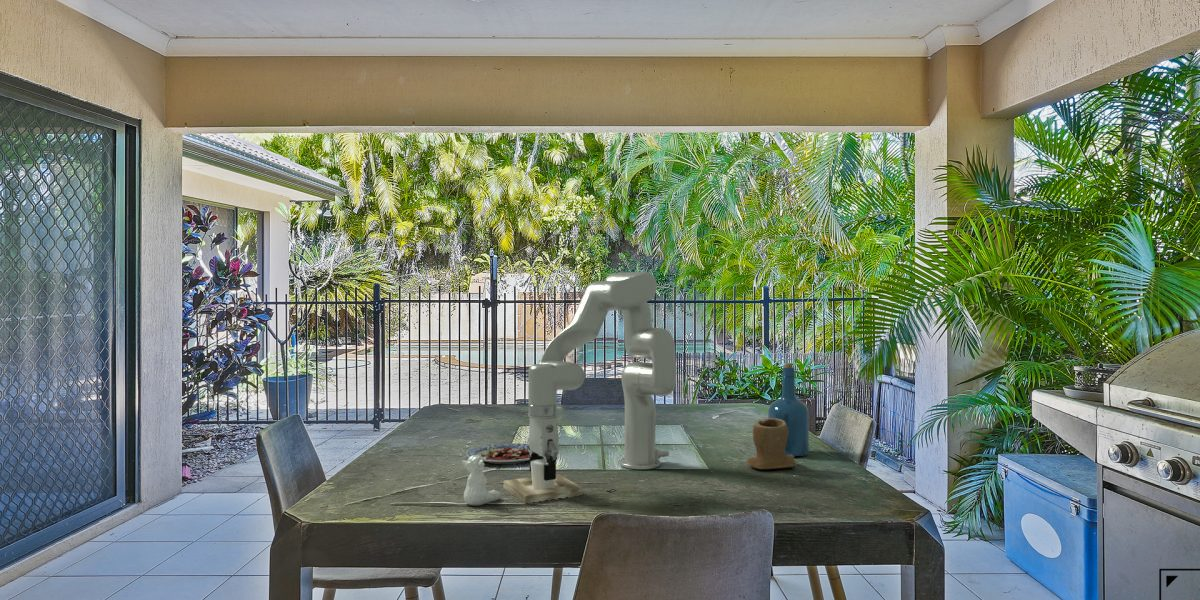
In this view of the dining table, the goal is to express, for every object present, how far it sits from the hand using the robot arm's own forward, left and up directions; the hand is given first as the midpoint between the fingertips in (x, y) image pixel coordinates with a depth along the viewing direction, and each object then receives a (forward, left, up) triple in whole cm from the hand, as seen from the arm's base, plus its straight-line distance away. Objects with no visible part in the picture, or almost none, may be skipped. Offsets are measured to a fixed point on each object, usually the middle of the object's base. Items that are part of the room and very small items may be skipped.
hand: (542, 475), depth 180 cm
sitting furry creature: (+18, +1, -5) cm, 19 cm away
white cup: (0, 0, -4) cm, 4 cm away
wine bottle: (-90, -4, -4) cm, 90 cm away
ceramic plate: (-5, -41, -5) cm, 42 cm away
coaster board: (0, 0, -4) cm, 4 cm away
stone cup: (-72, +9, -5) cm, 73 cm away
